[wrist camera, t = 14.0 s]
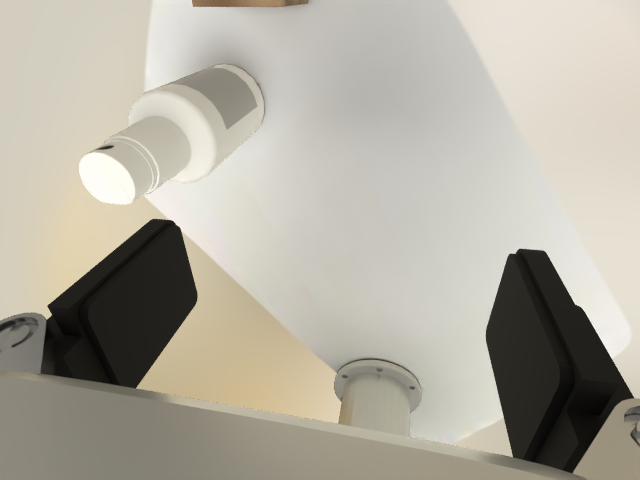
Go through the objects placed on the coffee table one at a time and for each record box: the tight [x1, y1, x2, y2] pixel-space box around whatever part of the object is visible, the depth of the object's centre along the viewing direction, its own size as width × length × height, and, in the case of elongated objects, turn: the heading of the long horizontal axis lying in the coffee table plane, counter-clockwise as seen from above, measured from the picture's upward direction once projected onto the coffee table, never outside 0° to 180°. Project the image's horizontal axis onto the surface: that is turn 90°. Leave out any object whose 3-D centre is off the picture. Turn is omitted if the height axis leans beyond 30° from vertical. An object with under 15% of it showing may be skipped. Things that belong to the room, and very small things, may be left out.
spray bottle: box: [79, 64, 264, 205], centre depth 28 cm, size 7×7×18 cm
